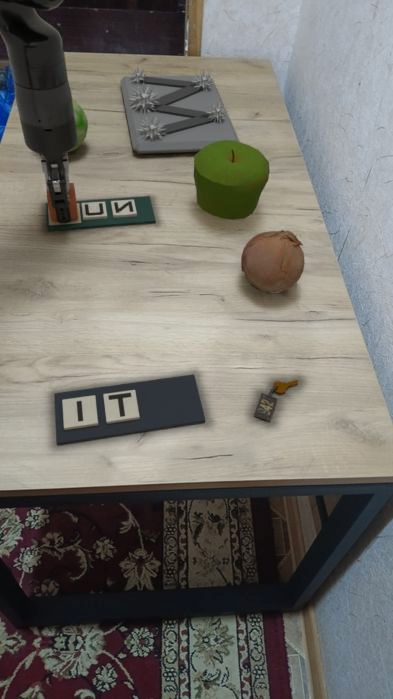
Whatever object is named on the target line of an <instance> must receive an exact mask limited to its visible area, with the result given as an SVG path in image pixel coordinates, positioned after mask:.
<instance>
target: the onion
mask: <svg viewBox="0 0 393 699" xmlns="http://www.w3.org/2000/svg"><path fill="white" fill-rule="evenodd" d="M301 246H304V245H303V243H302V241H300V240H299V238H298V237H297V235H295V233H294V232H293V231H291V230H283V229H281V230H278V231H277V230H272V231H270V230H269V231H264V232H260V233H257V234H256V235H254V236H253V237H252V238H250V239H248V241H247V243H246V244H245V246H244V247H243V249H242V253H241V257H240V260H241V261H240V268H241V272H243V275H244V278H246V279H247V281H248V282H249V283H250V286H251V287H252V288H255V289H256V290H259V291H261V292H263V293H266V294H267V295H269V294H275V295H279V294H280V293H281V292H284V291H287V290H288V289H290V288H293V287H294V286H295V285H296V284H297V282H299V280H300V278H301V277H302V275H303V272H304V269H305V265H306V264H305V254H304V251H303V248H302V247H301Z"/></svg>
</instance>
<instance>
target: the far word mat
mask: <svg viewBox="0 0 393 699" xmlns="http://www.w3.org/2000/svg"><path fill="white" fill-rule="evenodd" d="M76 201H77V210H78V219H71V222H68V223H59V222H58V221H51V217H50V212H49V207H48V202H46V203H45V215H46V216H45V217H46V218H45V219H46V231H47V232H56V231H70V230H72V231H73V230H84V229H95V228H97V229H99V228H108V227H109V228H111V227H121V226H122V227H123V226H134V225H147V224H156V223H157V220H156V216H155V213H154V208H153V204H152V200H151V197H150V195H145V196H130V197H129V196H128V197H114V198H101V199H85V200H76Z"/></svg>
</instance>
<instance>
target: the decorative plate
mask: <svg viewBox="0 0 393 699" xmlns="http://www.w3.org/2000/svg"><path fill="white" fill-rule="evenodd" d="M130 71H131V72H129V73H128V74H129V75H124V76H123V78H121V79H120V81H119V82H120V87H121V93H122V98H123V103H124V109H125V114H126V119H127V124H128V130H129V134H130V139H131V145H132V150H133V151H135V153H137V154H138V155H142V154H143V155H145V154H173V153H174V154H176V153H198V152H199V151H200V150H201V149H203V148H204V147H205V146H207V145H209V144H212V143H214V142H217V141H223V140H232V141H239V142H241V141H240V139H239V137H238V135H237V132H236V130H235V128H234V125H233V123H232V120H231V118H230V117H229V114H228V111H227V107H225V103H224V102H223V99H222V97H221V95H220V93H219V91H218V88H217V85H216V84H215V80H214V77H215V75H214V76H210V75H211V73H210V72H208V71H205V70H202V73H201V72H200V71H198V72H197V73H198V74H197V73H196V72H194V74H195V75H148V74H147V73H148V72H144V71H145V69H142V68H140V69H139V67H138V65H137V67H136V68H135V67H133V70H132V69H130Z"/></svg>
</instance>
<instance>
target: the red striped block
mask: <svg viewBox="0 0 393 699" xmlns="http://www.w3.org/2000/svg"><path fill="white" fill-rule="evenodd" d="M69 183H70V189H69V190H68V191H67V192H68V198H69V200H70V205H69V209H70V215H71V219H78V210H77V201H78V200H77V194H76V188H75V182H69ZM46 203H48V207H49V212H50V217H51V221H57V216H56V211H55V209H53V206H52V204H51V203H52V202H51V197H50V193H49V190H48V189H47V185H46Z"/></svg>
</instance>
